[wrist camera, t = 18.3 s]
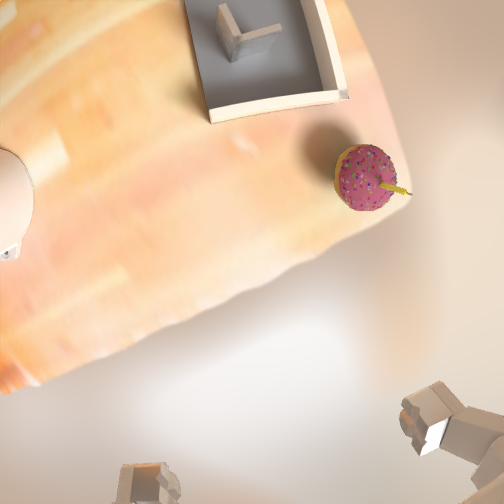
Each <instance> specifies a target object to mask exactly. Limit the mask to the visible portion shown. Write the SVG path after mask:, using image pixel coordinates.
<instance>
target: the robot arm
mask: <svg viewBox="0 0 504 504" xmlns="http://www.w3.org/2000/svg"><path fill="white" fill-rule="evenodd" d="M32 212H33V189H32V184H31V180H30V177H29V174H28V172H27V170H26V168H25V166H24V165H23V163H22V162H21V161H20V159H19V158H18V157H17V156H15V155H14V154H13V153H11V152H9V151H6V150H3V149H0V261H4V260H14V259H16V258H18V257H19V255H20V250H21V242H22V238H23V236H24V234H25V232H26V230H27V228H28V226H29V224H30V221H31V217H32ZM6 251H8V253H7V252H6ZM401 405H402V407H403V408H404V409H403V410H402V411H401V413H400V418H399V420H400V425H401V428H402V430H403V432H404V433H405V435H406V436H409V437H411V438H412V446H413V447H414V449H415V450H416V452H417V453H418V455H419V456H422V455H424V454H426V453H428V452H430V451H432V450H434V449H436V448H437V447H440V448H441V449H444V450H446V451H448V452H450V453H452V454H454V455H456V456H458V457H461V458H463V459H465V460H467V461H469V462H472V463H474V464H476V465H478V467H477V469H476V470H475V472H474V473H473V475H472V477H471V480H472V481H473V483H474V484H475V486H476V487H477V489H478V491H477V492H476V493H474V494H473V495H471V496H470V497H468V498H467V499H465V500H464V501H462V502H461V503H459V504H504V416H502V415H498V414H495V413H491V412H487V411H484V410H480V409H476V408H473V407H470V406H468V407H467V408H465V407H464V405H463V404H462V403H461V402H460V401H459V400H458V399H457V397H456V396H455V395H454V394H453V393H452V392H451V391H450V390H449V389H448V388H447V386H446V385H445V384H444V383H443V382H441V381H438V382H436V383H434V384H432V385H430V386H428V387H426V388H424V389H421V390H419V391H417V392H415V393H413V394H411V395H409V396H407V397H405V398H404V399H403V400H402V404H401ZM180 496H181V488H180V484H179V480H178V478H177V476H176V475H175V474H174V473H172V472H170V471H169V466H168V465H167V464H166V463H165V462H159V463H146V464H145V463H144V464H123V466H122V468H121V471H120V478H119V484H118V491H117V498H116V502H112V503H111V504H179V503H178V502H177V500H178V499H179V498H180Z"/></svg>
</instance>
